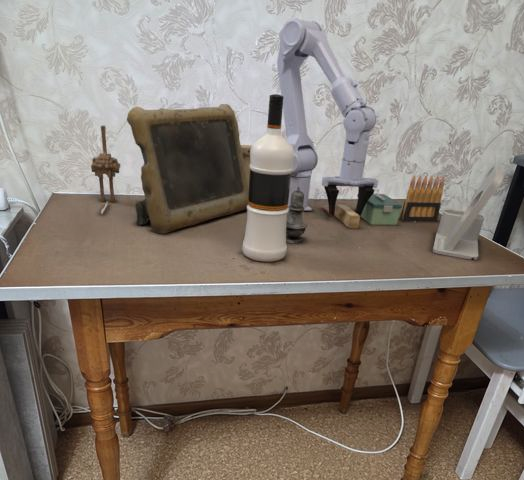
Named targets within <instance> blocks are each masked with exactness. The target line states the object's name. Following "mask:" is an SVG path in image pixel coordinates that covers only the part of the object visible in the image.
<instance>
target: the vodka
mask: <svg viewBox="0 0 524 480" xmlns="http://www.w3.org/2000/svg"><path fill="white" fill-rule="evenodd" d="M283 99H284V97H283V96H281V94H277V93H274V94H270V95H269V100H268V111H267V112H268V113H267V125H266V127H267V128H266V133H265V134H263V136H262V137H260V138H259V139H257V140H256V141H254V142H253V143H252V145H251V146H252V147H251V149H250V165H249V167H250V179H249V196H248V205H247V210H246V215H247V216H246V223H245V232H244V239H243V241H242V245H241V247H242V248H241V250H242V253H243V255H244V256H245V257H247V258H248V259H250V260H253V261H256V262H262V263H273V262H278V261H280V260H282V259H284V258H285V257H286V255H287V250H288V245H287V242H286V221H287V220H288V215H289V210H288V200H289V190H290V180H291V172H292V170H293V168H292V165H293V160H294V150H293V148H292V146H291V145H290V144H289V143H288V142H287V141H286V138H284V137H283V135H282V120H283Z"/></svg>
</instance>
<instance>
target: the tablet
mask: <svg viewBox="0 0 524 480" xmlns="http://www.w3.org/2000/svg"><path fill="white" fill-rule="evenodd" d="M126 121H127V123H128V124H129V126H130V129H131V133H132V136H133V139H134V143H135V145H136V146H138V147H139V150H140V152H141V155H142V160H143V165H142V166H141V168H140V172H141V173H140V180H141V189H142V192H143V194H144V199H143V200H139V201H137V202H136V203H135V211H136V224H137V225H139V226H142V225H147V223H148V219H149V222H150V226H151V229H152V230H153V232H155V233H157V234H162V235H166V234H168V233H171V232H174V231H176V230H179V229H182V228H186V227H191V226H194V225H197V224H200V223H203V222H206V221H209V220H213V219H216V218H220V217H225V216H229V215H232V214H234V213H238V212H241V211H242V212H243V211H247V205H248V196H249V190H248V185H247V179H246V173H245V169H244V164H245V163H244V160H243V152H242V148H241V145H242V144H241V141H240V140H241V139H240V131H239V124H238V120H237V117H236V114H235V111H234V110H233V108H232V107H231V105H230V104H229V103H228V104H227V103H221V104H219V105H218V106H211V107H207V106H201V107H196V108H185V109H184V108H183V109H182V108H181V109H180V108H178V109H177V108H176V109H174V108H173V109H172V108H171V109H170V108H162V107H160V108H158V109H144V108H143V107H141V106H134V107H132V108H131V109H130V110H129V111H128V113H127V116H126Z"/></svg>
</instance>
